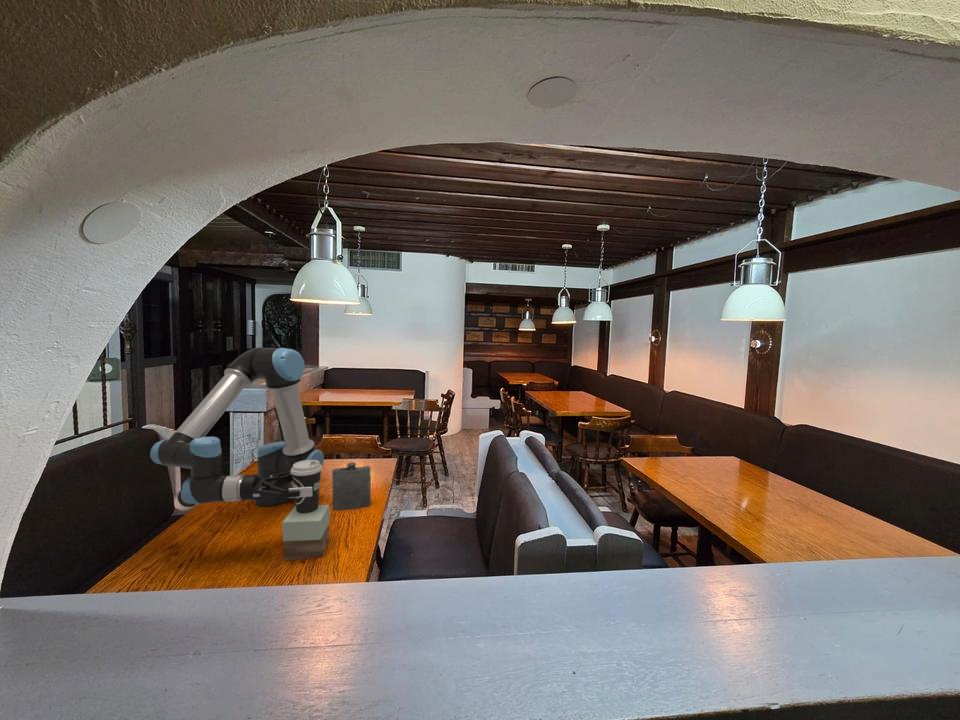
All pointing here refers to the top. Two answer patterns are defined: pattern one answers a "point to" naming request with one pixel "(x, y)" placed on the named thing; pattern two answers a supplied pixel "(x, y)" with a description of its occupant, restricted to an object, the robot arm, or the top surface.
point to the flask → (351, 487)
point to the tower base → (306, 548)
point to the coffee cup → (307, 483)
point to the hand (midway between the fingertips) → (316, 482)
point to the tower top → (306, 524)
